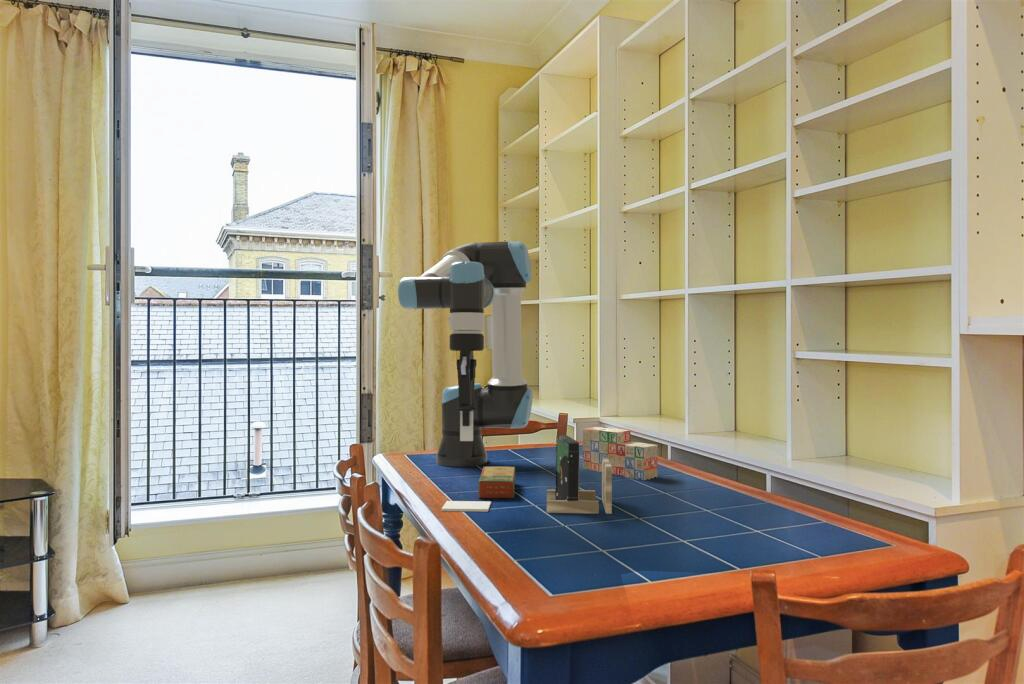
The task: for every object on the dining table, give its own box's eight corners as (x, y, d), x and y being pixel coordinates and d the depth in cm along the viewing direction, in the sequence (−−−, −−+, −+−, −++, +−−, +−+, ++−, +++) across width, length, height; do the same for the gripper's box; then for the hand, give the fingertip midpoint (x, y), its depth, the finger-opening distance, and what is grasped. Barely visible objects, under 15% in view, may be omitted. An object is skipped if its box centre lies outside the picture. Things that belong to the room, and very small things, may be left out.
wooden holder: (547, 500, 155) (547, 456, 155) (607, 501, 155) (607, 457, 155) (546, 513, 144) (546, 465, 144) (611, 513, 143) (611, 466, 143)
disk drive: (580, 511, 145) (580, 441, 145) (567, 511, 144) (567, 441, 144) (566, 499, 155) (567, 434, 155) (555, 500, 154) (555, 435, 154)
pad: (446, 503, 153) (446, 500, 153) (490, 504, 152) (490, 501, 152) (441, 511, 146) (441, 508, 146) (488, 512, 145) (488, 509, 145)
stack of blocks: (658, 480, 180) (658, 433, 180) (643, 483, 175) (643, 435, 175) (597, 468, 196) (597, 425, 196) (582, 471, 191) (582, 427, 191)
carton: (515, 482, 172) (515, 465, 172) (514, 498, 156) (514, 480, 156) (482, 482, 172) (482, 465, 172) (478, 498, 156) (478, 480, 156)
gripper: (454, 333, 156) (453, 436, 155) (445, 332, 142) (445, 444, 142) (486, 333, 155) (486, 436, 155) (480, 332, 142) (480, 445, 142)
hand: (466, 440), depth 149 cm, fingers closed
